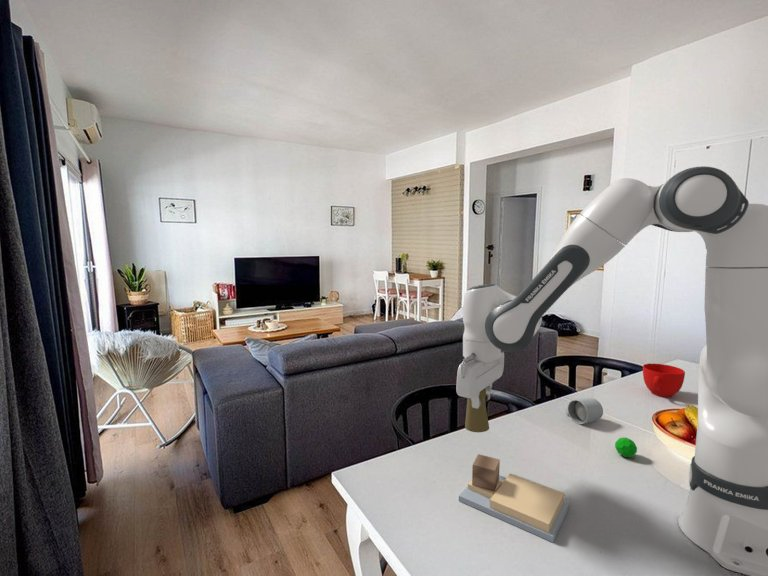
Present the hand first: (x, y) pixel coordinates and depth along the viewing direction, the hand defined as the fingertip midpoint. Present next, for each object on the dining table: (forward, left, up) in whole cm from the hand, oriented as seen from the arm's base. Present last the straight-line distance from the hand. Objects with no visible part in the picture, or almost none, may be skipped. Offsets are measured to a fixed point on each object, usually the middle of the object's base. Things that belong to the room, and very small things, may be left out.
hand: (480, 403), depth 97 cm
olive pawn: (+1, 0, -7) cm, 7 cm away
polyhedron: (-29, -30, -18) cm, 45 cm away
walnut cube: (-5, +8, -15) cm, 18 cm away
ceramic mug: (-14, -47, -18) cm, 52 cm away
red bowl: (-34, -87, -18) cm, 95 cm away
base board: (-12, +8, -17) cm, 22 cm away
